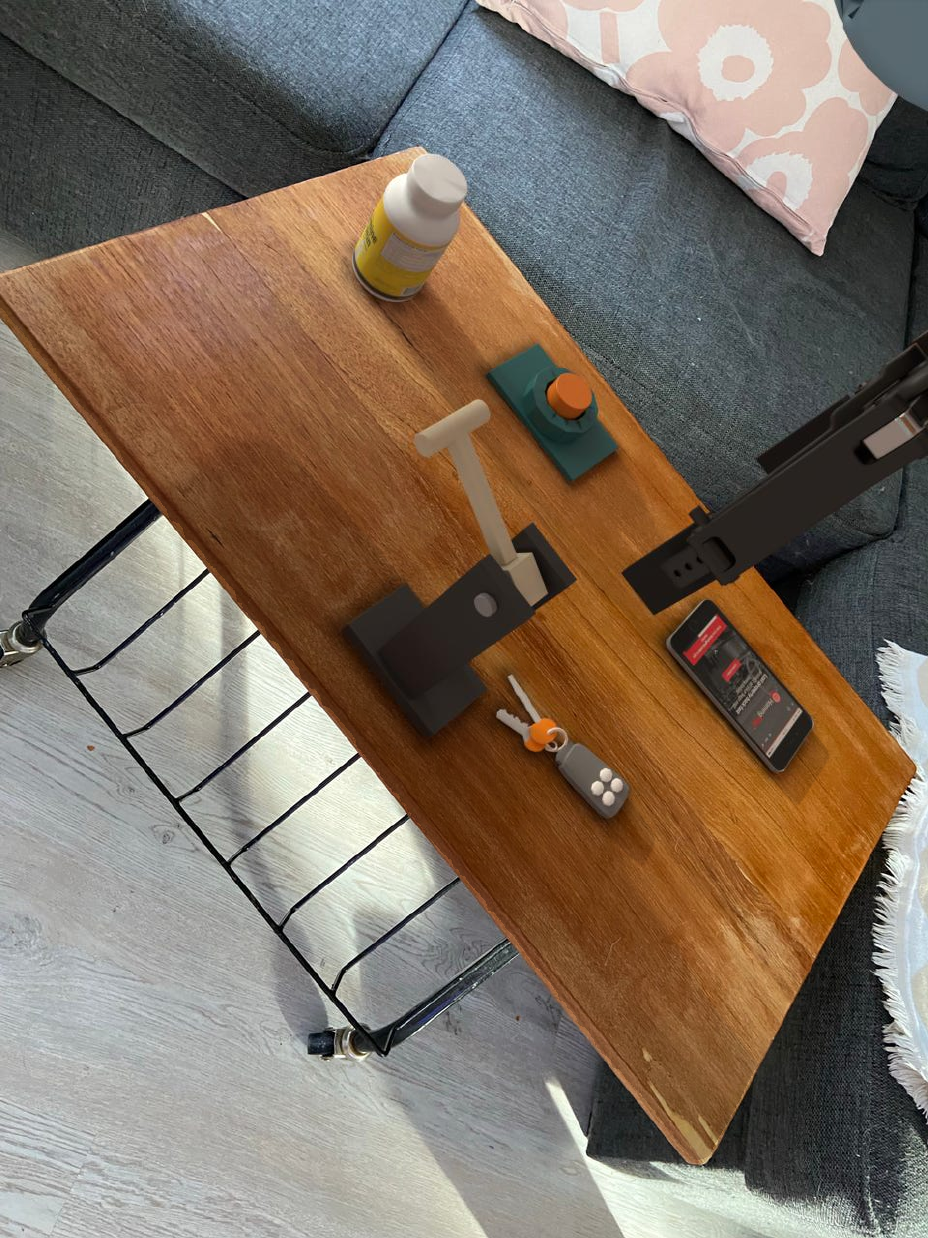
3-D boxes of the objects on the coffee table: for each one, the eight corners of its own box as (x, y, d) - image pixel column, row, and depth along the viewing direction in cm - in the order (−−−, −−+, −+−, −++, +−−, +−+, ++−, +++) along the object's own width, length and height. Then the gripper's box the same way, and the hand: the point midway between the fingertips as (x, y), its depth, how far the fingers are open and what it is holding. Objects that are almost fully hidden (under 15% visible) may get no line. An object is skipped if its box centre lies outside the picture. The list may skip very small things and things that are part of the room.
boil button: (538, 392, 85) (548, 381, 83) (563, 377, 87) (574, 366, 85) (564, 425, 85) (574, 415, 83) (588, 409, 87) (599, 399, 85)
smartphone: (708, 595, 87) (816, 722, 87) (703, 598, 88) (811, 725, 88) (666, 642, 83) (780, 775, 83) (661, 644, 84) (774, 777, 84)
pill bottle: (378, 230, 86) (432, 130, 76) (432, 283, 87) (493, 190, 77) (334, 264, 82) (385, 163, 73) (391, 318, 83) (449, 226, 73)
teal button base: (485, 375, 86) (498, 359, 84) (534, 347, 90) (548, 330, 87) (569, 484, 86) (584, 470, 83) (615, 450, 89) (631, 437, 87)
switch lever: (404, 436, 55) (431, 431, 53) (463, 402, 58) (490, 396, 56) (483, 622, 59) (510, 623, 57) (534, 582, 62) (562, 582, 60)
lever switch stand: (340, 630, 71) (443, 526, 56) (398, 590, 74) (510, 481, 59) (425, 740, 71) (550, 664, 56) (479, 694, 74) (611, 612, 59)
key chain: (626, 787, 77) (637, 784, 76) (604, 823, 75) (615, 820, 74) (508, 675, 76) (517, 669, 75) (482, 708, 74) (491, 702, 73)
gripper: (1045, 521, 28) (622, 713, 46) (1237, 258, 42) (855, 483, 60) (886, 314, 28) (524, 586, 46) (1130, 119, 42) (780, 386, 60)
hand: (711, 528), depth 53 cm, fingers open, 13 cm apart
